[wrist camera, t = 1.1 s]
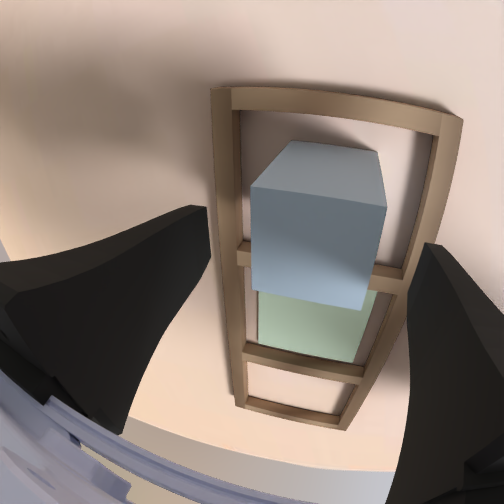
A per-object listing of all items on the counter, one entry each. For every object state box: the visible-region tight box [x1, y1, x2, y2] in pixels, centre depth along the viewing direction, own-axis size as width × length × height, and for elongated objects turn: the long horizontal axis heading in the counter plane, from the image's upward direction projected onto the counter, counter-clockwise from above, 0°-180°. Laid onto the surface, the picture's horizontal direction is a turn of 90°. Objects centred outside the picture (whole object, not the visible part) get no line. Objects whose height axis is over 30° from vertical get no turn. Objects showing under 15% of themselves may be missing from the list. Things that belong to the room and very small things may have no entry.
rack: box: [210, 87, 463, 431], centre depth 19 cm, size 11×27×1 cm, turn 0°
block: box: [250, 140, 387, 311], centre depth 12 cm, size 4×4×6 cm
